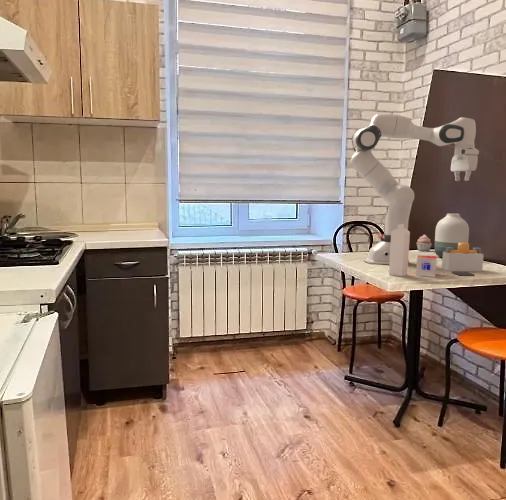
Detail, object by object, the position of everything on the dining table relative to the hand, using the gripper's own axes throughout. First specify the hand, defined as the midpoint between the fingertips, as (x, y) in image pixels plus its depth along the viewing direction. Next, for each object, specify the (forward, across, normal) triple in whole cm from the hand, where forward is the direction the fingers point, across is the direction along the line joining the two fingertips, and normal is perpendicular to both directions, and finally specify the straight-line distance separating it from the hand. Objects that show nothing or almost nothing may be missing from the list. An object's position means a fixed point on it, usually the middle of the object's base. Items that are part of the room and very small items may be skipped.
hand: (461, 180), depth 242 cm
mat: (+42, +28, -9) cm, 51 cm away
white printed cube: (+42, +29, -26) cm, 57 cm away
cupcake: (+42, -52, +4) cm, 67 cm away
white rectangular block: (+42, +16, -4) cm, 45 cm away
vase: (+42, -24, +8) cm, 49 cm away
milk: (+42, +30, -39) cm, 65 cm away
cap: (+34, +16, -4) cm, 37 cm away
